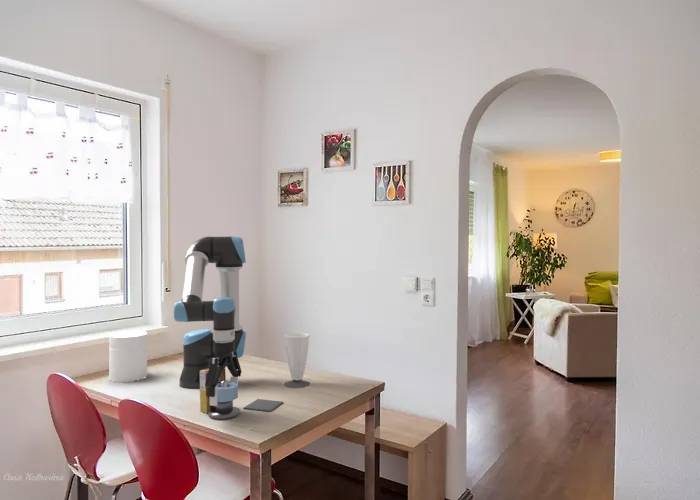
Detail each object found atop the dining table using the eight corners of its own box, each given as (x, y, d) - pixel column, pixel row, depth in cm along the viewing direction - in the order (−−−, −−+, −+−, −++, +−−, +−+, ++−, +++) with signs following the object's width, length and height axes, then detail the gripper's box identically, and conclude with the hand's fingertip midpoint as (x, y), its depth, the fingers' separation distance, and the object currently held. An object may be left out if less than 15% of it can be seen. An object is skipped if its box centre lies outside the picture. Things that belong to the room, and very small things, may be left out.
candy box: (219, 405, 191) (219, 365, 191) (226, 407, 189) (226, 367, 188) (199, 411, 185) (199, 369, 184) (206, 413, 182) (206, 371, 182)
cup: (289, 389, 212) (289, 338, 212) (280, 382, 223) (280, 333, 222) (314, 385, 218) (314, 335, 217) (304, 379, 228) (304, 331, 228)
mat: (243, 408, 187) (243, 407, 187) (257, 400, 198) (257, 398, 198) (270, 412, 184) (270, 410, 184) (283, 402, 194) (283, 401, 194)
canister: (101, 380, 227) (100, 335, 226) (128, 371, 242) (128, 330, 241) (128, 383, 221) (127, 338, 220) (154, 374, 236) (154, 332, 235)
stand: (202, 417, 178) (202, 384, 177) (219, 408, 188) (219, 376, 188) (229, 421, 174) (229, 386, 174) (245, 411, 185) (245, 378, 184)
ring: (206, 400, 178) (206, 387, 178) (220, 393, 187) (220, 381, 187) (228, 402, 175) (228, 390, 175) (241, 395, 184) (241, 383, 184)
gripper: (213, 348, 168) (213, 411, 168) (250, 335, 191) (250, 391, 192) (194, 346, 170) (194, 409, 170) (233, 334, 194) (233, 389, 194)
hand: (224, 399), depth 181 cm, fingers open, 13 cm apart
